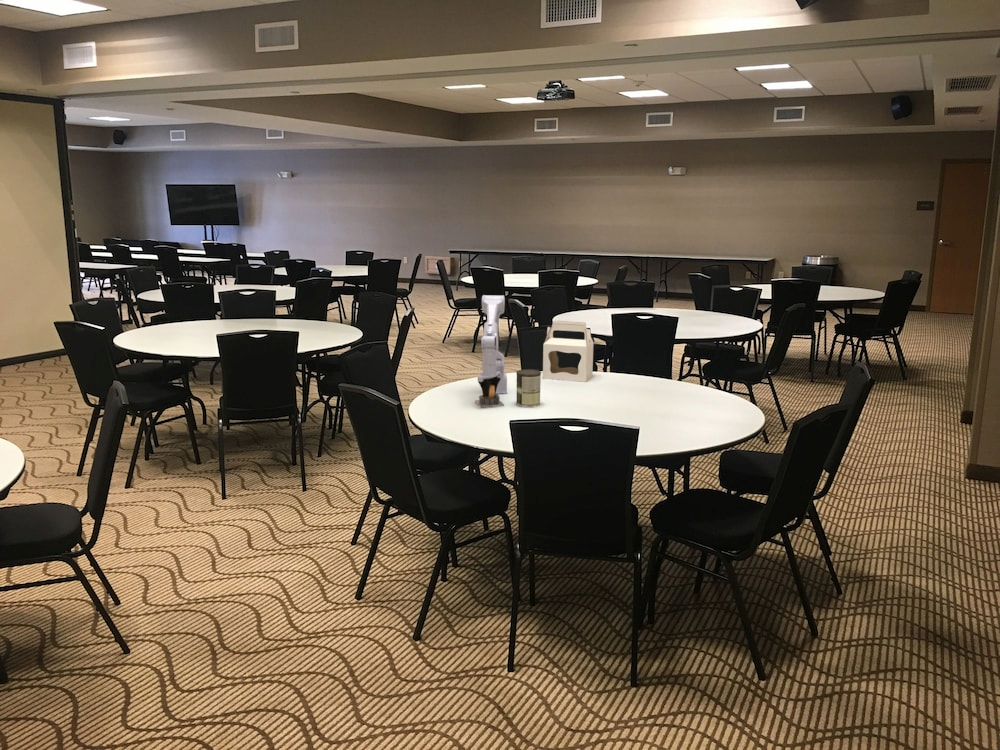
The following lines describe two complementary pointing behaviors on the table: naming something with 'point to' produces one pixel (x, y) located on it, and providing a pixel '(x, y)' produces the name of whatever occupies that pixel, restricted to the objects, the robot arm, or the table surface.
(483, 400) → the dark grey low piece
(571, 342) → the gable box
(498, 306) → the robot arm
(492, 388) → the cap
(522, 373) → the coffee can
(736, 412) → the table surface
